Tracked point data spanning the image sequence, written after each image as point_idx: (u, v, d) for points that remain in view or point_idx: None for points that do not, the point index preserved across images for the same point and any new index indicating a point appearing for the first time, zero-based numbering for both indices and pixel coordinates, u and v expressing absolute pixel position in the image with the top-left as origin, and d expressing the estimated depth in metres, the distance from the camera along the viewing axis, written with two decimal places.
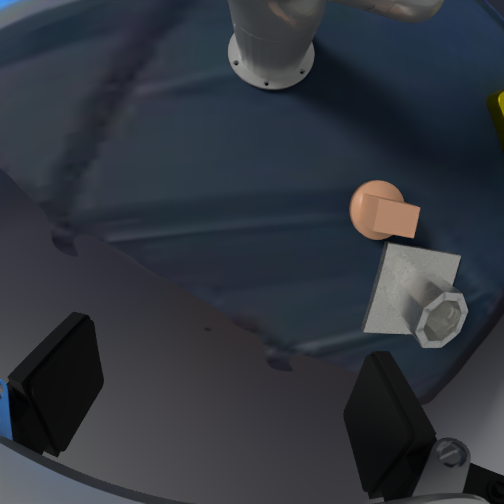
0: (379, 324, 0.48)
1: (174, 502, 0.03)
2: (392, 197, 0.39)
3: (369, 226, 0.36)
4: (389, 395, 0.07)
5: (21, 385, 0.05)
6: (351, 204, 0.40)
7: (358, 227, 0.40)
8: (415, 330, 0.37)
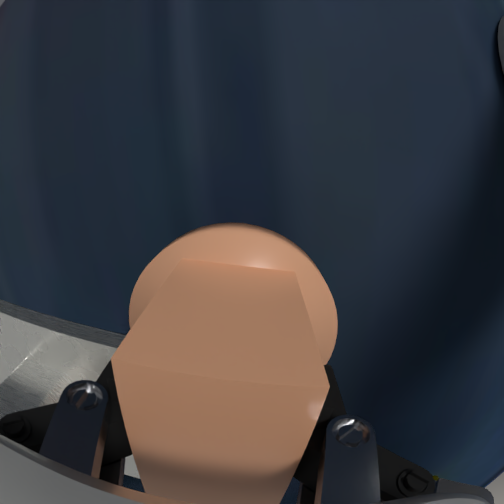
0: None
1: (174, 502, 0.03)
2: None
3: (145, 323, 0.06)
4: None
5: None
6: (246, 228, 0.11)
7: (159, 262, 0.11)
8: None
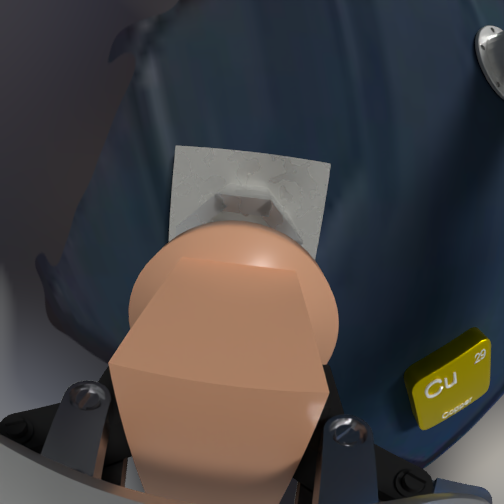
0: (189, 171, 0.30)
1: (174, 502, 0.03)
2: None
3: (144, 326, 0.06)
4: None
5: None
6: (246, 226, 0.11)
7: (158, 260, 0.11)
8: (219, 194, 0.21)
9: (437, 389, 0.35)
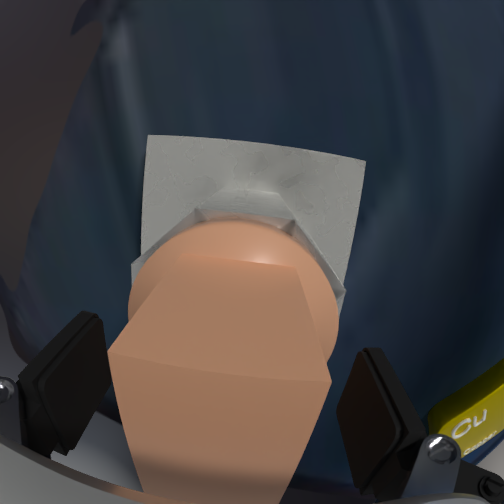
0: (166, 171, 0.21)
1: (174, 502, 0.03)
2: None
3: (144, 317, 0.06)
4: (379, 391, 0.07)
5: (32, 384, 0.05)
6: (246, 223, 0.11)
7: (158, 257, 0.11)
8: (201, 208, 0.12)
9: (464, 428, 0.26)
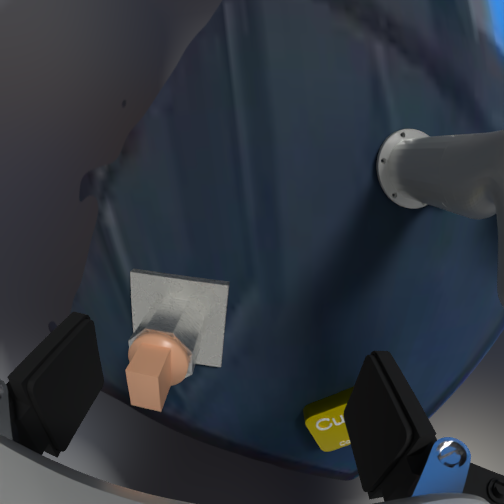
0: (140, 288, 0.47)
1: (174, 502, 0.03)
2: (173, 375, 0.38)
3: (131, 363, 0.32)
4: (389, 395, 0.07)
5: (21, 385, 0.05)
6: (158, 335, 0.37)
7: (135, 343, 0.36)
8: (147, 328, 0.37)
9: (328, 424, 0.52)
